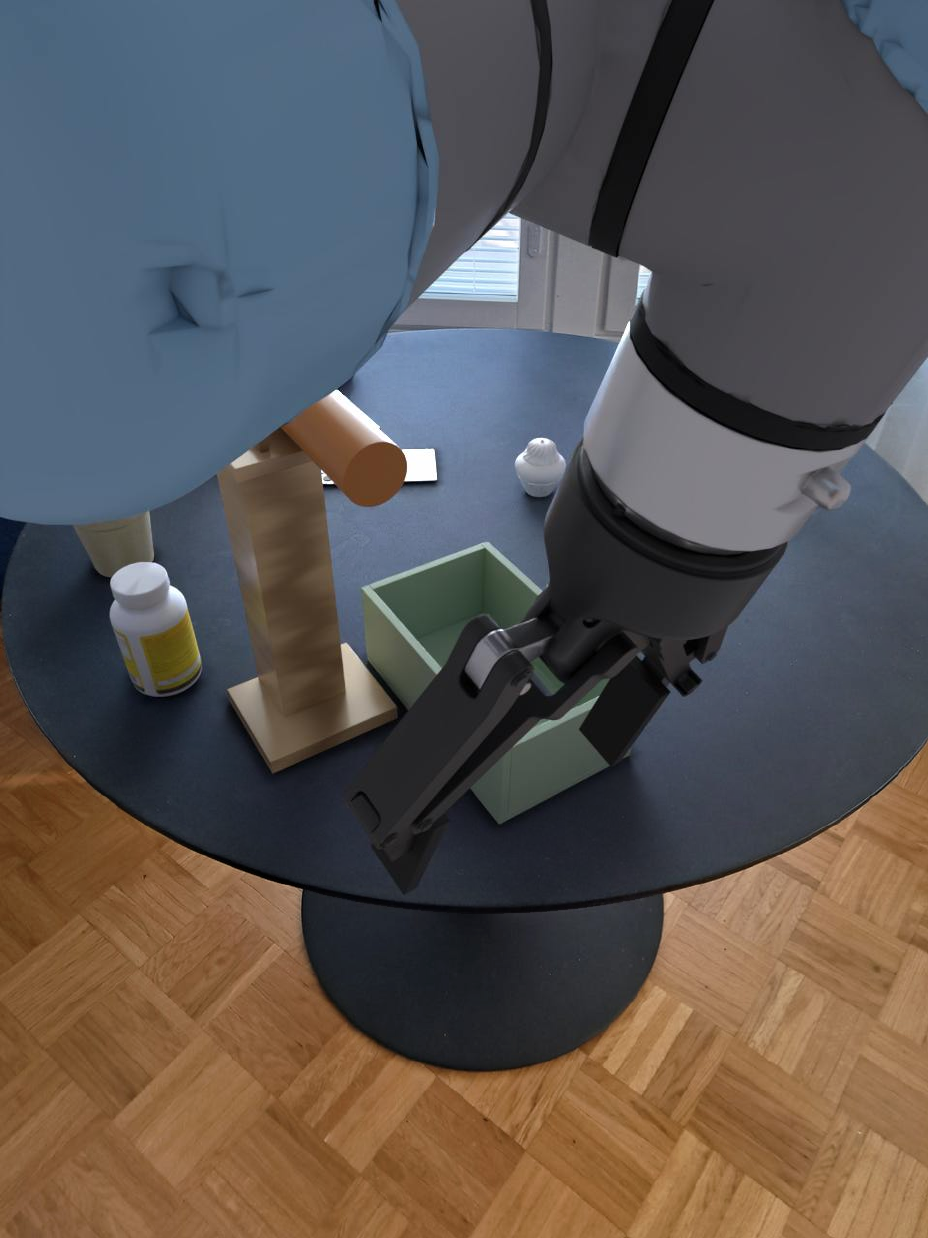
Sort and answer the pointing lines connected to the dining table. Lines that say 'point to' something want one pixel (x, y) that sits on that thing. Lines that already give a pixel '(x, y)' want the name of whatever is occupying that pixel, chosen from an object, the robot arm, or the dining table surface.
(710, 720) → the dining table surface
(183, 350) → the robot arm
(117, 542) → the flower pot
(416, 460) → the smartphone
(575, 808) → the dining table surface
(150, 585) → the pill bottle
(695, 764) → the dining table surface
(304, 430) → the orange brown cylinder
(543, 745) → the bin
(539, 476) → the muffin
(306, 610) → the stand
